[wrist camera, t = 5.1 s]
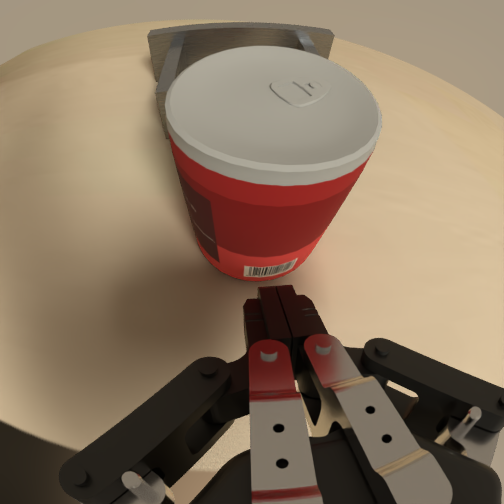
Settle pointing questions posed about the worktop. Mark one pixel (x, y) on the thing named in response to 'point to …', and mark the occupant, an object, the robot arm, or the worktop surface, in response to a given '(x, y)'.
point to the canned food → (267, 153)
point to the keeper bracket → (223, 46)
